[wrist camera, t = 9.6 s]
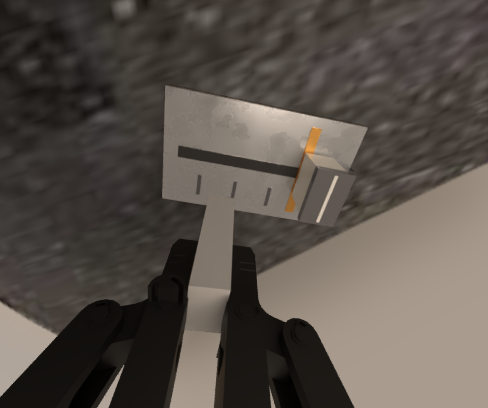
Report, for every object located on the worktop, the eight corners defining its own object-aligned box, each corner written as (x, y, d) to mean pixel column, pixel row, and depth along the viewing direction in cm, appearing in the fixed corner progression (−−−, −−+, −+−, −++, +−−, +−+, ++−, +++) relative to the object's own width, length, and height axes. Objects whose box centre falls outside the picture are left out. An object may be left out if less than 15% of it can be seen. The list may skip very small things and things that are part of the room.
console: (169, 84, 23) (157, 86, 20) (361, 124, 25) (379, 133, 22) (165, 192, 29) (155, 208, 26) (321, 218, 31) (331, 236, 28)
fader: (304, 150, 24) (318, 169, 20) (335, 156, 25) (357, 176, 20) (289, 196, 27) (299, 222, 23) (318, 200, 27) (333, 227, 23)
